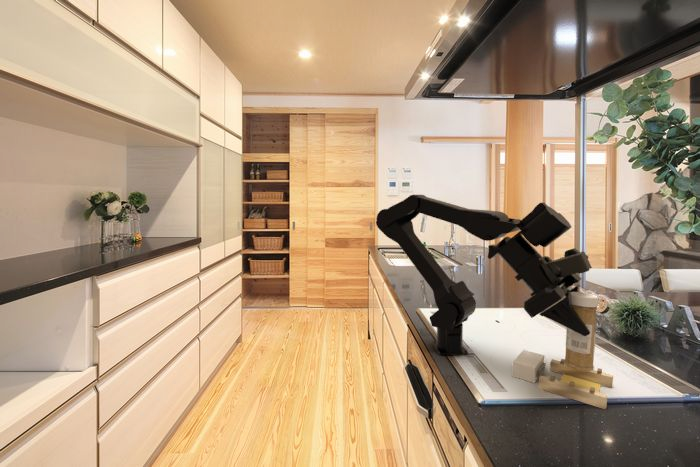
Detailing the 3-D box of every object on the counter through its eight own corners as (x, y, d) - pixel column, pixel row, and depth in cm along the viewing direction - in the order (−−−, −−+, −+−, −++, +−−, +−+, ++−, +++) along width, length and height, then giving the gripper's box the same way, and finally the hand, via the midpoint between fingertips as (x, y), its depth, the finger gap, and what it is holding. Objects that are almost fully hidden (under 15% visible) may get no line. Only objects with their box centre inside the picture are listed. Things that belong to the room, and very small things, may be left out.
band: (555, 389, 63) (555, 388, 63) (563, 374, 68) (563, 374, 68) (595, 402, 59) (595, 401, 59) (601, 385, 64) (601, 384, 64)
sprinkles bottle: (598, 369, 62) (603, 295, 62) (586, 374, 60) (591, 297, 59) (570, 359, 66) (575, 290, 66) (558, 364, 64) (563, 292, 63)
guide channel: (538, 388, 64) (539, 374, 64) (551, 368, 71) (552, 356, 71) (605, 409, 57) (606, 394, 57) (612, 385, 64) (613, 372, 64)
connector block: (512, 376, 68) (512, 361, 68) (523, 363, 73) (523, 349, 73) (537, 384, 65) (537, 368, 65) (546, 370, 70) (547, 356, 70)
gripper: (548, 240, 57) (629, 322, 50) (571, 231, 70) (637, 294, 64) (497, 280, 63) (563, 357, 57) (527, 264, 77) (583, 325, 70)
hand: (590, 330), depth 62 cm, fingers closed on sprinkles bottle, 4 cm apart
